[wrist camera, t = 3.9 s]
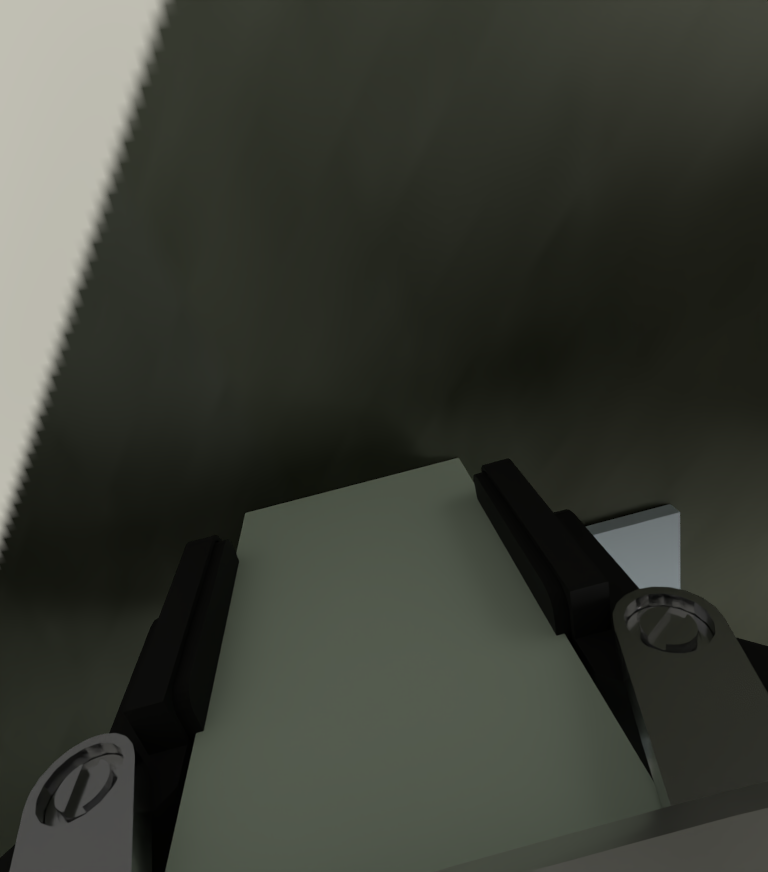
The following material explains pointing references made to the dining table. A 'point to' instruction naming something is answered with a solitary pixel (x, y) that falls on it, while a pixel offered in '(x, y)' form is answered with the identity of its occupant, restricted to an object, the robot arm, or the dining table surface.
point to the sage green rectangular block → (393, 696)
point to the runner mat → (644, 545)
